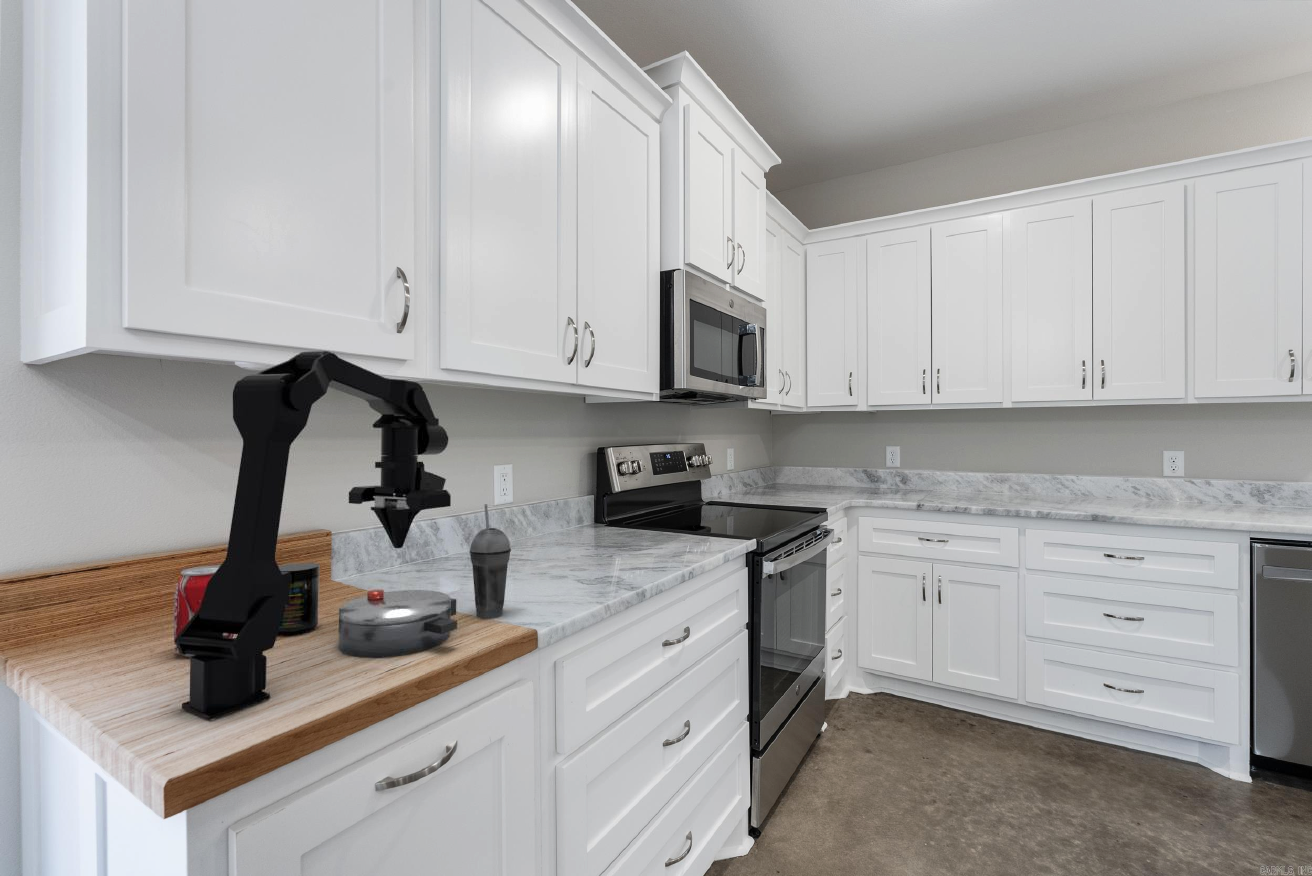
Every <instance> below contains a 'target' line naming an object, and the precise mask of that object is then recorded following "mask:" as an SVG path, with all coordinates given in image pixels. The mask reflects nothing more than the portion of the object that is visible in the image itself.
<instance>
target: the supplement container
mask: <svg viewBox="0 0 1312 876" xmlns="http://www.w3.org/2000/svg"><path fill="white" fill-rule="evenodd" d="M278 567H279V569H280V571H281V572H290V573H291V575H292V582H291V586H290V591H289V601H290V606H285V612H284V616H283V618H282V620H281V623H280V627H279V630H278V634H277V637H292V636H293V637H294V636H301V635H304V634H308V633H310V632H313V631H314V630H315V629H317V628H318V625H319V614H320V613H319V612H320V611H319V608H320V604H319V603H320V602H319V601H320V598H319V596H320V575H321V574H320V564H319V563H316V562H294V563H287V564H281V565H278Z"/></svg>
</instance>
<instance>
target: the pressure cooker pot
mask: <svg viewBox="0 0 1312 876" xmlns="http://www.w3.org/2000/svg"><path fill="white" fill-rule="evenodd" d="M450 598H451V606H450V608H449V609H448V610H447V611H445V612H443V613H441V614H439V615H436V616H434V617H431V618H427V619H423V620H419V621H414V622H408V623H401V624H392V625H358V624H351V623H347V622H344V621H342V620H341V619H340V618H339V617H338V650H339V652H341V653H342V654H345V655H347V656H349V657H350V656H351V657H355V658H365V659H366V658H367V659H368V658H369V659H378V658H379V659H380V658H381V659H382V658H394V657H395V658H396V657H402V656H407V655H412V654H417V653H419V652H420V653H421V652H424V651H428V650H430V649H433V648H436V647H438V646H440V645H442V644H444V643H445V642H446V641H448V640H449V638H450V636H451V632H452V631H454V630H458V620H457V619H452V618H451V617H454V616H456V615H457V598H452V597H450ZM342 605H343V604H341V605H340V606H342ZM443 642H444V643H443Z"/></svg>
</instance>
